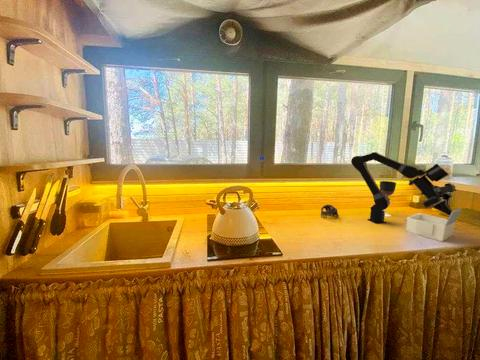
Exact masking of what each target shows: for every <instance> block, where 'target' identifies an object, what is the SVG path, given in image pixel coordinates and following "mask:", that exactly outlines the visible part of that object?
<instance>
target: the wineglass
mask: <svg viewBox="0 0 480 360" xmlns="http://www.w3.org/2000/svg"><path fill="white" fill-rule="evenodd" d="M396 186H397V182H395V181H388V180H381V181H379V189H380V191H381V192H382V193H383V194H385V193H387V196H388V197H389V196H392V195H393V194H394V193H395V191H396ZM383 211H385V217H392V215H391V214H390V213H386V209H385V210H383Z"/></svg>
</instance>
